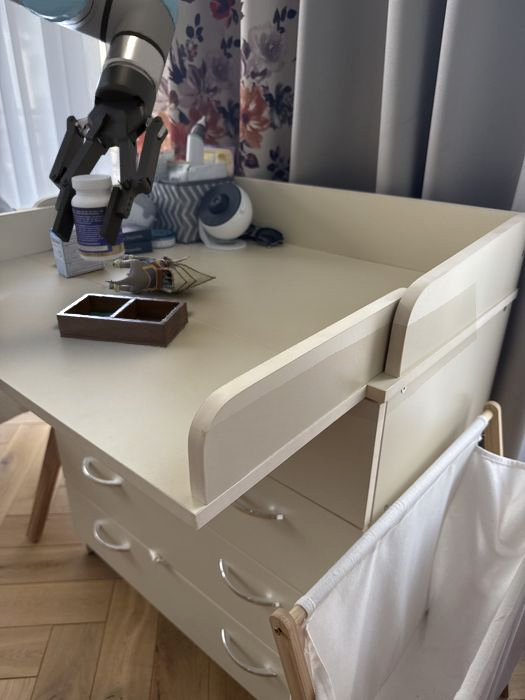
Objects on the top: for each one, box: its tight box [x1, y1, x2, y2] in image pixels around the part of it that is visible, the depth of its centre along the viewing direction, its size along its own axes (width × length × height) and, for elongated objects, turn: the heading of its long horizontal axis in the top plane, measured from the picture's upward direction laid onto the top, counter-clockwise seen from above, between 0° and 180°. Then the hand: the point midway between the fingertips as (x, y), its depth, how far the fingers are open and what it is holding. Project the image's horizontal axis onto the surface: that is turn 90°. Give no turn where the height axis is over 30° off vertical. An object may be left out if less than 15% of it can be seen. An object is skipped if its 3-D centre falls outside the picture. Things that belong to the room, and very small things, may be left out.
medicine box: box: [49, 224, 106, 278], centre depth 103 cm, size 8×4×9 cm, turn 133°
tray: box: [55, 293, 189, 348], centre depth 80 cm, size 9×16×4 cm, turn 76°
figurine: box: [104, 253, 217, 294], centre depth 94 cm, size 20×6×17 cm
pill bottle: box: [71, 173, 126, 262], centre depth 68 cm, size 6×6×10 cm
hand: (83, 238), depth 66 cm, fingers closed on pill bottle, 6 cm apart
